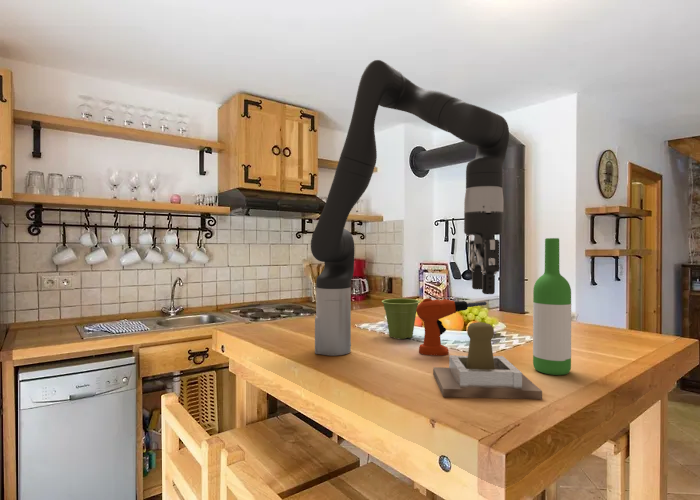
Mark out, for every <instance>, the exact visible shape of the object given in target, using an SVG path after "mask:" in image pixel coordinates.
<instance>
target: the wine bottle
mask: <svg viewBox="0 0 700 500" xmlns="http://www.w3.org/2000/svg"><path fill="white" fill-rule="evenodd" d="M532 292H533V298H532V299H533V300H532V301H533V302H532V307H533V309H532V364H533V367H534V368H533V369H534V370H535V371H537V372H539V373H542V374H545V375H551V376H566V375H568V374H569V373H570V371H571V369H572V288H571V285H570V282H569V281H568V280H567V279H566V278H565V277H564V276H563V275H562V274H561V273H560V238H559V237H549V238H546V237H545V239H544V273H543V274H542V275H540V277H538V278H537V280H536V281H535V282H534V286H533V291H532Z"/></svg>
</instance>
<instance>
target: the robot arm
mask: <svg viewBox="0 0 700 500" xmlns="http://www.w3.org/2000/svg"><path fill="white" fill-rule="evenodd" d="M357 87H358V88H357V90H356V91H357V92H356V96H355V100H354V107H353V111H352V115H351V119H350V123H349V127H348V130H347V134H346V137H345V140H344V143H343V147H342V150H341V153H340V156H339V159H338V162H337V165H336V169H335V172H334V176H333V180H332V183H331V186H330V189H329V192H328V194H327V197H326V201H325V204H324V207H323V209H322V211H321V214H320V216H319V219H318V221H317V224H316V226H315V228H314V231H313V233H312V236H311V240H310V252H311V254H312V257H313V258H314V259H315V260H317V261H318V262H320V263H321V262H322V263H324V266H323V269H322V272H321V273H320V274H319V275H318V276H317V277H316V279H315V280H316V281H315V282H316V284H315V287H316V289H315V291H316V294H315V297H316V298H315V302H316V303H315V307H316V308H315V310H316V312H315V314H316V315H315V317H314V354H316V355H323V356H342V355H347V354H349V353H351V351H352V350H351V349H352V347H351V345H352V342H351V339H352V337H351V336H352V335H351V334H352V328H351V326H352V322H351V321H352V319H351V318H352V316H351V315H352V305H351V302H352V301H351V299H352V297H351V295H352V294H351V293H352V289H351V286H352V285H351V284H352V279H353V278H354V272H355V271H354V270H355V252H356V250H355V241H354V237H353V235H352V233H351V232H350V231H349V229H345V228H346V227H345V226H346V223H347V220H348V218H349V215H350V213H351V211H352V210H353V208H354V207H355V206H356V204H357V203H358V201H359V200H360V199H361V197H362V196H363V195H364V193H365V191H366V190H367V189H368V187H369V184H370V182H371V181H372V180H371V179H372V177H373V173H374V170H375V167H376V163H377V160H378V159H377V156H378V154H377V141H376V135H375V123H376V119H377V118H376V117H377V113H378V109H379V107H383V108H385V109H391V110H395V111H401V112H405V113H408V114H411V115H413V116H416V117H417V118H419V119H421V120H422V121H423V122H425V123H427V124H429V125H431V126H434V127H435V128H438V129H440V130H442V131H444V132H447V133H450V135H452V136H454V137H456V138H457V139H460V140H461V141H463V142H465V143H467V144H470V145H471V146H472V145H473V146H474V147H475V146H476V153H475V158H473V159H471V160H470V161H468V163H467V165H466V166H465V167H466V170H465V193H464V194H465V195H464V203H463V204H464V211H463V212H464V214H463V215H464V217H463V218H464V219H463V220H464V221H463V233H464V234H465V235H468V236H474V237H473V240H472V239H471V240H469V258H468V259H469V262H468V266H469V268H470V270H471V288H472V289H474V290H481V292H482V294H484V295H494V294H495V293H496V292H495V291H496V290H495V288H496V287H495V286H496V275H497V272H500V267H501V266H500V240H499V239H494V236H495V235H496V236H498V235H502V234H504V193H503V191H504V190H503V165H504V163H505V159H506V156H507V155H506V154H507V150H508V145H509V142H510V129H509V124H508V121H507V120H506V119H505V118H504V117H503V116H502V115H500V114H498V113H495V112H493V111H491V110H488V109H486V108H485V107H481V106H477V105H475V104H472V103H469V102H466V101H464V100H462V99H461V98H458V97H455V96H453V95H450V94H448V93H444V92H442V91H438V90H432V89H425V88H422V87H420V86H419V85H417V84H415V83H414V82H412V81H411V80H410V79H408V78H407V77H406V76H405V75H404V74H403V73H402V72H401V71H400V70H398V69H396V68H395V67H393V66H391V65H390V64H389V63H387V62H385V61H383V60H382V59H381V60H380V59H374V60H372V61H371V62H370V63H368V65H366V67H365V69H363V72H362V74H361V76H360V80H359V84H358V86H357Z"/></svg>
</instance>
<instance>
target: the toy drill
mask: <svg viewBox="0 0 700 500" xmlns="http://www.w3.org/2000/svg"><path fill="white" fill-rule="evenodd" d="M478 306H480V307H482V306H487V302H486V301H478V302H467V301H466V300H450V299H448V298H447V299H446V298H443V299H441V300H440V299H438V298H437V299H432V298H429V297H428V298H424V299H423V300H422V301H420V303H418V306H417V309H416V315H417V317H418V318H419V319H420V320H421V321H422V322H423V327H424V338H423V343H421V344H420V345H419V346H418V353H419V354H421V355H424V356H448V355H449V348H448V347H446V346H444V345H443V344H442V342H441V335H443V334H444V333H445V332H447V328H446V327H444V325H443V322H442V320H441V319H443V318H446V317H448V316H452V315H453V314H456V313H457V312H458V313H459V312H461V311H462V312H463V311H467V310H468V308H474V307H478Z"/></svg>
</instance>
